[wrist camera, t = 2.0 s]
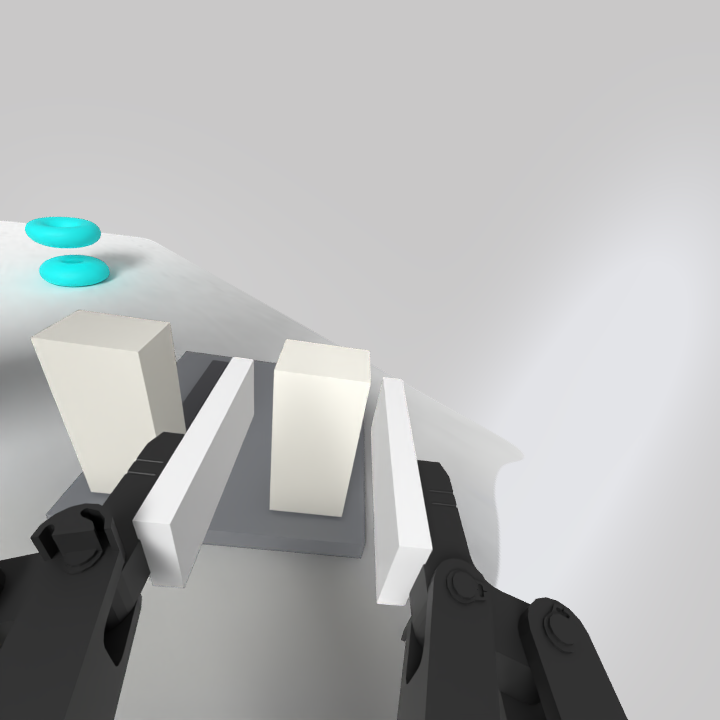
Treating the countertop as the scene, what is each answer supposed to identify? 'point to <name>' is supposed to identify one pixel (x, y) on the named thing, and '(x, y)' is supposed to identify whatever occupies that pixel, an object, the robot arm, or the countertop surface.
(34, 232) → the donuts
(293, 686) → the countertop surface
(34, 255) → the countertop surface
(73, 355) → the block
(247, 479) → the switch panel
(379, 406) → the robot arm
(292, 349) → the cream white tall block
